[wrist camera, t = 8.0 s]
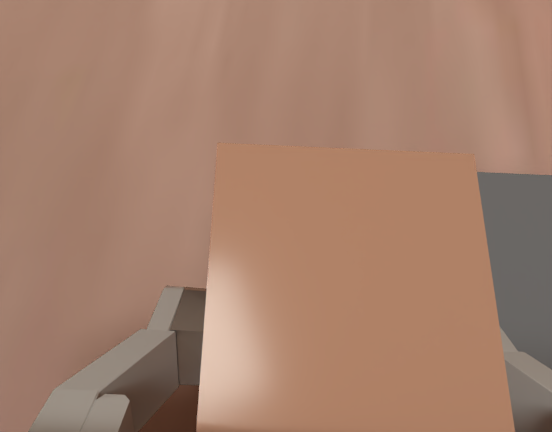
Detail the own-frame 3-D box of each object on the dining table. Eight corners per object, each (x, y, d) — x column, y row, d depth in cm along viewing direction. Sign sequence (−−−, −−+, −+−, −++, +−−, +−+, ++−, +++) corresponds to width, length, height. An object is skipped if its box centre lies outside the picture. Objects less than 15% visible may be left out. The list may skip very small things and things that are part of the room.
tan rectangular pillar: (359, 375, 16) (516, 444, 6) (232, 372, 16) (195, 440, 6) (354, 250, 17) (474, 154, 8) (238, 246, 17) (217, 142, 8)
